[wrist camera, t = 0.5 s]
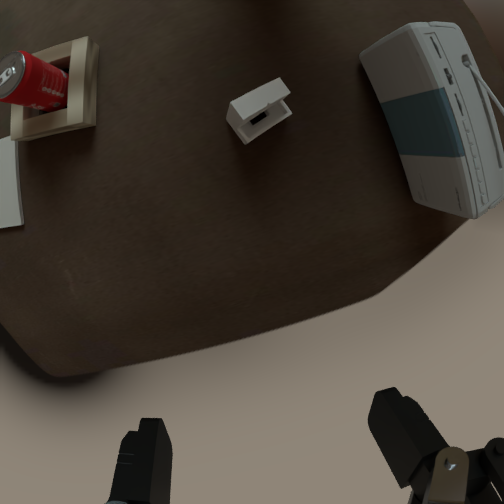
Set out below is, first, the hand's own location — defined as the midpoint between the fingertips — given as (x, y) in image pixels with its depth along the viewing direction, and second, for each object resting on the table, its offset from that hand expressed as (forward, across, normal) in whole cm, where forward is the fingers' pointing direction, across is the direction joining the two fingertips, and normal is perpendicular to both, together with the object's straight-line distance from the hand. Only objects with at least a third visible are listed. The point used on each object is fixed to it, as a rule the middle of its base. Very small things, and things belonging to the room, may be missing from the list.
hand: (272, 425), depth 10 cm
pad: (+28, +34, -10) cm, 45 cm away
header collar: (+28, +20, -20) cm, 40 cm away
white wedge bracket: (+28, -4, -13) cm, 31 cm away
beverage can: (+28, +20, -20) cm, 40 cm away
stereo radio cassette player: (+28, -24, -14) cm, 39 cm away
